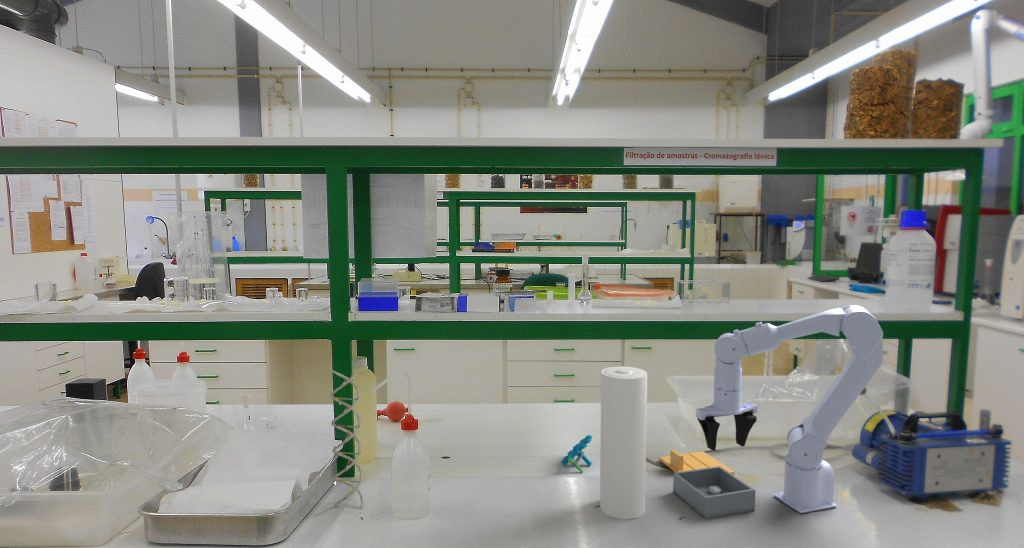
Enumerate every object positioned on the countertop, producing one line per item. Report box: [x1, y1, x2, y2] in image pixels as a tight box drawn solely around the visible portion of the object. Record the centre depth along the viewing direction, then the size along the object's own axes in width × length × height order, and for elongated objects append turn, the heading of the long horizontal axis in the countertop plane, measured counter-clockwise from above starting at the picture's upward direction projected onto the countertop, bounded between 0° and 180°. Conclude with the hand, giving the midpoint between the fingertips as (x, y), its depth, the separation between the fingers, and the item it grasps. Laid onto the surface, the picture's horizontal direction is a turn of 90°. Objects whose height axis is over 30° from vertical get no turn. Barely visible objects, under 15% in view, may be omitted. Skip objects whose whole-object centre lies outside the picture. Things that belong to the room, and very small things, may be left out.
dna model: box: [329, 369, 364, 509], centre depth 121 cm, size 7×6×30 cm
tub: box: [672, 466, 756, 520], centre depth 123 cm, size 12×12×4 cm
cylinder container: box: [599, 365, 648, 520], centre depth 120 cm, size 9×9×30 cm
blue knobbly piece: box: [561, 434, 593, 474], centre depth 142 cm, size 11×6×10 cm
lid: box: [658, 449, 735, 476], centre depth 139 cm, size 13×13×5 cm
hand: (725, 446), depth 128 cm, fingers open, 7 cm apart
